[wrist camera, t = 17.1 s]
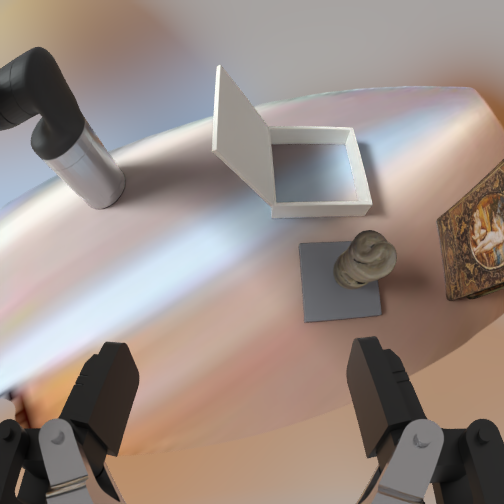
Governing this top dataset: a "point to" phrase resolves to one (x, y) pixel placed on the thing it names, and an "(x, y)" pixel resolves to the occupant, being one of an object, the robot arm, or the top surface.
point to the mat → (332, 286)
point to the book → (475, 239)
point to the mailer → (260, 152)
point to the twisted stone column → (364, 260)
